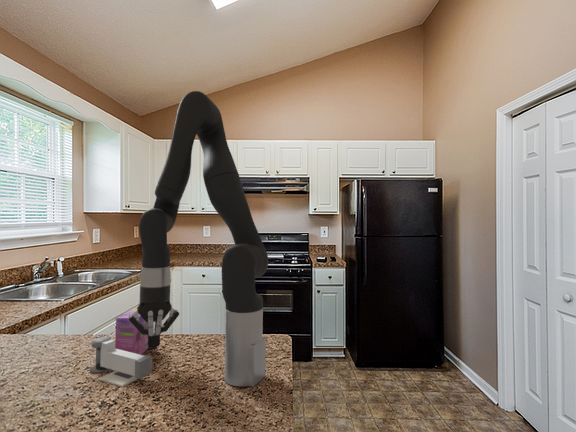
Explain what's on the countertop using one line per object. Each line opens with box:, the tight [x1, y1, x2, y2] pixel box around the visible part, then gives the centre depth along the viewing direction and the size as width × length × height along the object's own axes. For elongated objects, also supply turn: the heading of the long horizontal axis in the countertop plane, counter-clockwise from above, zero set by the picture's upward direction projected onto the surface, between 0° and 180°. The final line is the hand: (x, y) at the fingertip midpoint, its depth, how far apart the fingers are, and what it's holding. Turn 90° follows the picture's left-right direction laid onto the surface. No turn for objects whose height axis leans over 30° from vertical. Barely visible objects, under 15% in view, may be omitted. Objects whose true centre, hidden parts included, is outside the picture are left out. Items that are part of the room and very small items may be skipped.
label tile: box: [98, 370, 138, 388], centre depth 81 cm, size 8×8×1 cm
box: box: [114, 307, 150, 355], centre depth 95 cm, size 10×6×12 cm, turn 179°
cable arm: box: [91, 336, 153, 380], centre depth 82 cm, size 18×4×6 cm, turn 65°
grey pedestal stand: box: [89, 348, 111, 374], centre depth 85 cm, size 5×5×6 cm
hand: (153, 348), depth 87 cm, fingers closed
